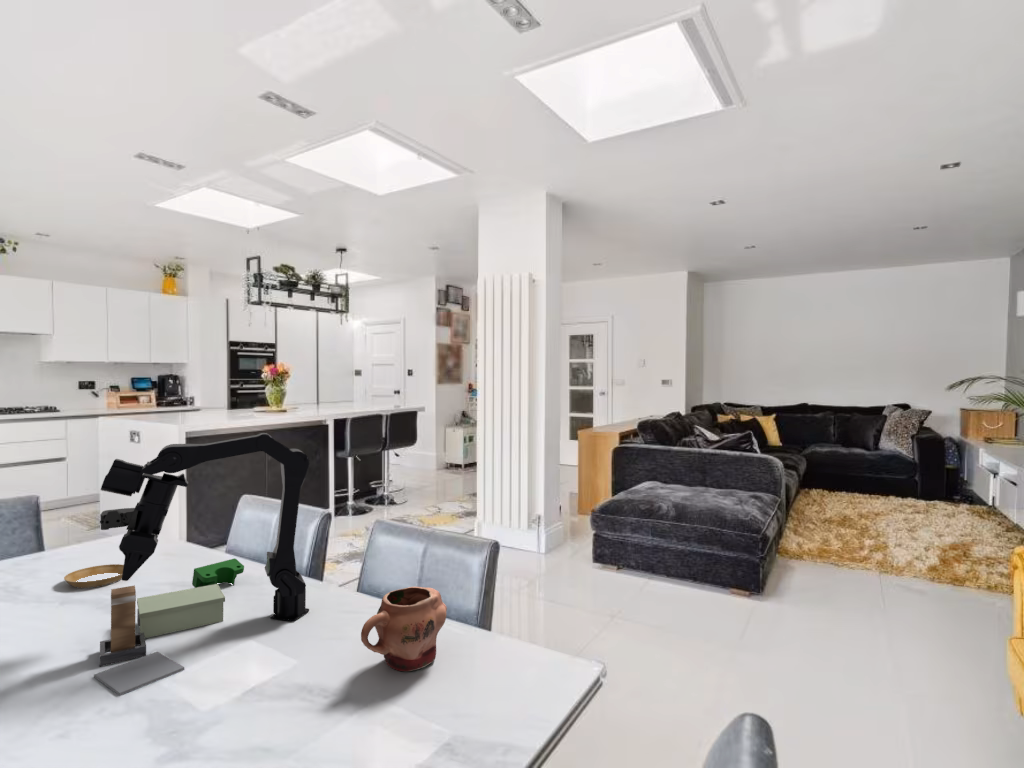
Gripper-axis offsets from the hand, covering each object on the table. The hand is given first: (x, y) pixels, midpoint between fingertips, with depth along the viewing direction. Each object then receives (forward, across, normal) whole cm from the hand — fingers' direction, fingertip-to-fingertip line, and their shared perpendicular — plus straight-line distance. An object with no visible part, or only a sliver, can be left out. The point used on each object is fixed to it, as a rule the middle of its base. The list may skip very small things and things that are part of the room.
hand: (127, 573), depth 119 cm
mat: (+13, +15, +8) cm, 22 cm away
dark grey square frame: (+14, +4, +5) cm, 16 cm away
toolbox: (+11, -8, +14) cm, 19 cm away
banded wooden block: (+14, +4, +5) cm, 16 cm away
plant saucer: (+18, -48, -6) cm, 52 cm away
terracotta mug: (-1, +35, +52) cm, 63 cm away
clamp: (+9, -29, +22) cm, 37 cm away
